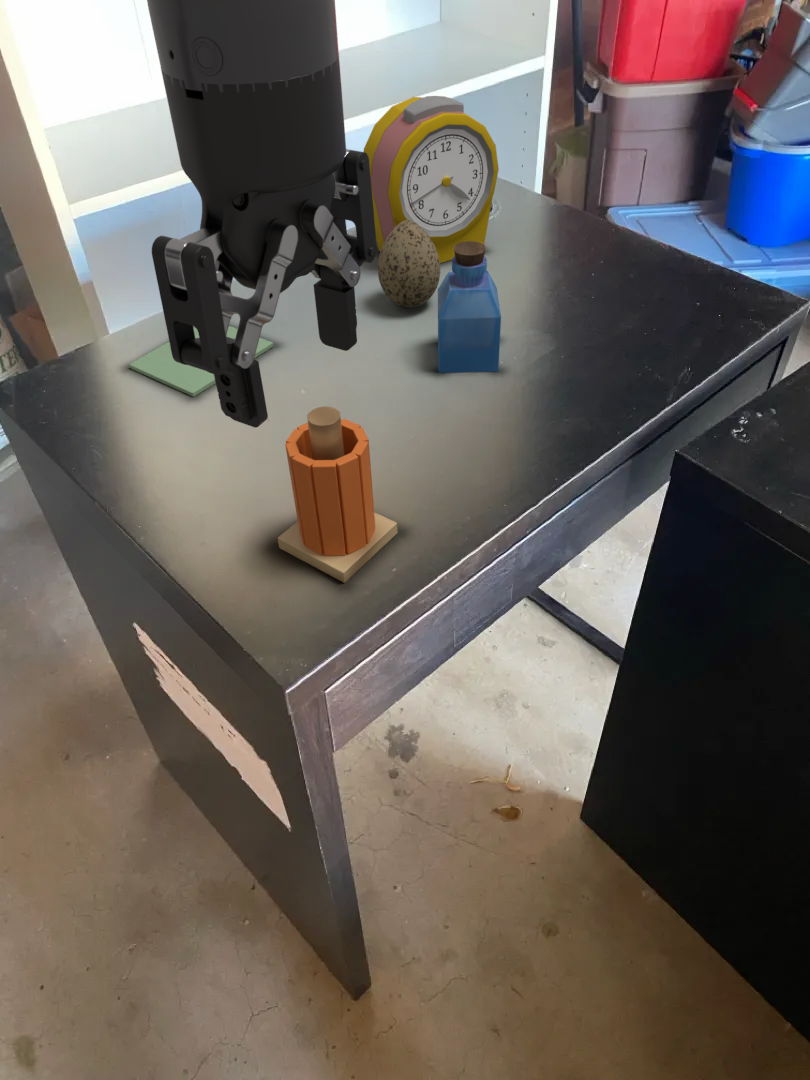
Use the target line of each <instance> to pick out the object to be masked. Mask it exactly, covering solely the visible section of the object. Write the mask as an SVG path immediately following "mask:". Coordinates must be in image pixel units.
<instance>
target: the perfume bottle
mask: <svg viewBox="0 0 810 1080" xmlns="http://www.w3.org/2000/svg"><path fill="white" fill-rule="evenodd" d="M486 249H487V246H486V245H485V243H484V244H482V243H479V242H474V241H466V242H461V243H458V244H456V245H455V246H454V253H455V256H454V257H453V259H452V260H451V271H448V272H447V274H446V275H445V277H444V278H443V280H442V282H441V283H440V286H439V287H438V289H437V351H438V352H437V353H438V357H437V358H438V373H439V374H443V373H485V372H486V373H487V372H489V373H491V372H493V373H495V372H499V367H500V366H499V364H500V347H501V346H500V345H501V326H502V314H501V306H500V300H499V294H498V288H497V286H496V283H495V282H494V280H493V278H492V276H491V274H490V272H489V271H488V259H487V257H486V256H485V254H486Z"/></svg>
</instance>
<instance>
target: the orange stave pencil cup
mask: <svg viewBox="0 0 810 1080" xmlns="http://www.w3.org/2000/svg"><path fill="white" fill-rule="evenodd" d="M341 426H342V435H343V445H344V455H345V456H342V457H340V458H338V459H336V460H313V456H312V449H311V442H310V434H309V427H308V422H305V423H302V424H301V425H298V426H296V428H294V429H293V431H292V432H291V434H289V436H288V437H287V439H286V440H285V444H284V446H285V453H286V457H287V458H286V459H287V463H288V470H289V476H290V481H291V489H292V494H293V500H294V501H293V502H294V506H295V513H296V519H297V521H298V525H299V531H300V535H301V538H302V541H303V544H304V545H306V547H307V548H309V549H311V550H313V551H315V552H317V553H319V554H321V555H322V554H323V553H324V555H325V556H338V555H346V552H347V553H348V554H351V553H353V552H355V551H357V550H358V549H360V548H362V547H364V546H366V543H367V544H368V543H369V541H370V539H371V537H372V535H373V533H374V532H375V516H374V512H375V504H374V503H375V502H374V490H373V480H372V479H373V478H372V465H371V454H370V440H369V438H368V435H367V433H366V431H365V429H364V427H363V426H362V425H361V424H358V423H356V422H353V421H351V420H349V419H346V418H341Z"/></svg>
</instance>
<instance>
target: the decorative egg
mask: <svg viewBox="0 0 810 1080" xmlns="http://www.w3.org/2000/svg"><path fill="white" fill-rule="evenodd" d="M379 252H380V251H379ZM377 277H378V281H379V284H380V287H381V289H382V291H383V293H384V294H385V296H386V297H387V298H388V299H389V300H390V301H391V302H392V303H394V304H396V305H398V306H399V307H402V308H403V307H404V308H416V307H419V306H422V305H423V304H425V303H426V302H428V301H429V300H430V299H431V298H432V297H433V296H434V294H435V292H436V290H437V288H438V285H439V282H440V279H441V278H440V277H441V263H440V262H439V257H438V253H437V251H436V248H435V246H434V244H433V242H432V240H431V238H430V237H429V235H428V234H427V233H426V232H425V231H424V230H423V229H422V228H421V227H420V226H419V225H418V224H417V223H416V222H414V221H411V220H405V221H402V222H401V223H399V224H398V225H397V226H396V227H395V228H394V229H393V230H392V231H391V233H390V234H389V236H388V237H387V239H386V240H385V242H384V244H383V246H382V249H381V252H380V253H379V256H378V259H377Z"/></svg>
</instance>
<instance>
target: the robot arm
mask: <svg viewBox="0 0 810 1080" xmlns="http://www.w3.org/2000/svg"><path fill="white" fill-rule="evenodd" d="M146 3H147V9H148V14H149V18H150V22H151V27H152V32H153V37H154V42H155V46H156V51H157V56H158V60H159V65H160V71H161V76H162V81H163V85H164V90H165V91H164V92H165V95H166V99H167V104H168V110H169V114H170V119H171V125H172V128H173V133H174V139H175V143H176V148H177V152H178V158H179V162H180V167H181V168H182V170H183V172H184V174H185V175H186V177H187V178H188V179H189V180H190V181H191V183H192V184H193V186H194V187H195V189H196V191H197V192H198V194H199V196H200V200H201V218H200V225H199V230H196V231H195V232H192V233H190V234H187V235H186V236H184V237H181V238H177V237H170V236H166V235H159V236H157V237H156V238H155V239H154V241H153V243H152V246H151V256H152V261H153V262H152V263H153V267H154V272H155V277H156V283H157V287H158V292H159V297H160V301H161V306H162V311H163V317H164V322H165V327H166V331H167V336H168V342H170V347H171V352H172V356H173V359H174V360H175V361H176V362H178V363H181V364H184V365H189V366H192V367H196V368H199V369H202V370H205V371H207V372H209V373H212V374H214V378H215V382H216V383H215V386H216V391H217V396H218V400H219V405H220V409H221V411H222V413H223V414H224V415H225V417H229V418H230V419H231V420H232V421H235V422H238V423H241V424H244V425H246V426H250V427H252V428H258V427H260V426H261V425H262V424H263V423H264V422H266V421H267V420H268V418H269V414H268V409H267V403H266V397H265V391H264V386H263V381H262V375H261V369H260V368H261V367H260V363H259V360H257V359H255V358H254V357H255V354H256V350H257V346H258V342H259V338H261V333H262V330H263V327H264V325H265V324H269V323H270V322H272V320H273V319H274V317H275V314H276V310H277V306H278V303H279V299H280V294H282V293H283V292H285V291H286V290H288V289H289V288H290V286H291V285H292V284H293V283H294V281H295V280H296V279H297V278H300V277H305V276H307V275H309V274H310V273H311V275H312V276H314V278H316V279H319V280H318V281H317V282H315V283H314V284H313V293H314V303H315V310H316V311H315V312H316V320H317V328H318V337H319V339H320V342H321V343H322V344H323V345H325V346H326V347H329V348H334V349H337V350H341V351H344V352H347V351H349V350H351V349H352V348H353V347H354V346H356V344H357V342H358V336H357V327H358V319H357V318H358V317H357V306H356V303H357V302H356V292H355V287H356V286H357V285H358V284H359V282H360V279H361V267H362V265H363V264H364V262H365V263H369V264H371V263H372V262H374V261H375V259H376V256H377V252H378V245H377V241H376V232H375V221H374V210H373V199H372V188H371V176H370V165H369V157H368V155H367V153H365V152H364V151H359V150H353V149H348V148H347V143H346V130H345V129H346V128H345V127H346V126H345V116H344V102H343V91H342V88H343V87H342V77H341V63H340V52H339V40H338V39H339V38H338V25H337V12H336V11H337V10H336V0H146ZM347 221H349V222H352V223H353V224H354V225H355V226H354V227H355V233H356V235H351V234H348V230H347ZM234 279H235V280H236V281H237V283H238V284H240V285H241V286H243V287H245V288H247V289H252V290H254V293H253V295H252V296H251V297H249V298H244V297H239V296H236V295H233V293H232V284H233V280H234ZM236 314H237V315H238V316H239V322H238V326H237V329H238V330H237V334H236V338H235V339H233V338H229V337H226V335H227V331H228V327H229V326H230V322H231V318H232V317H233V316H234V315H236ZM194 327H195V328H196V329H197V330H198V333H199V338H195V334H194Z"/></svg>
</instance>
